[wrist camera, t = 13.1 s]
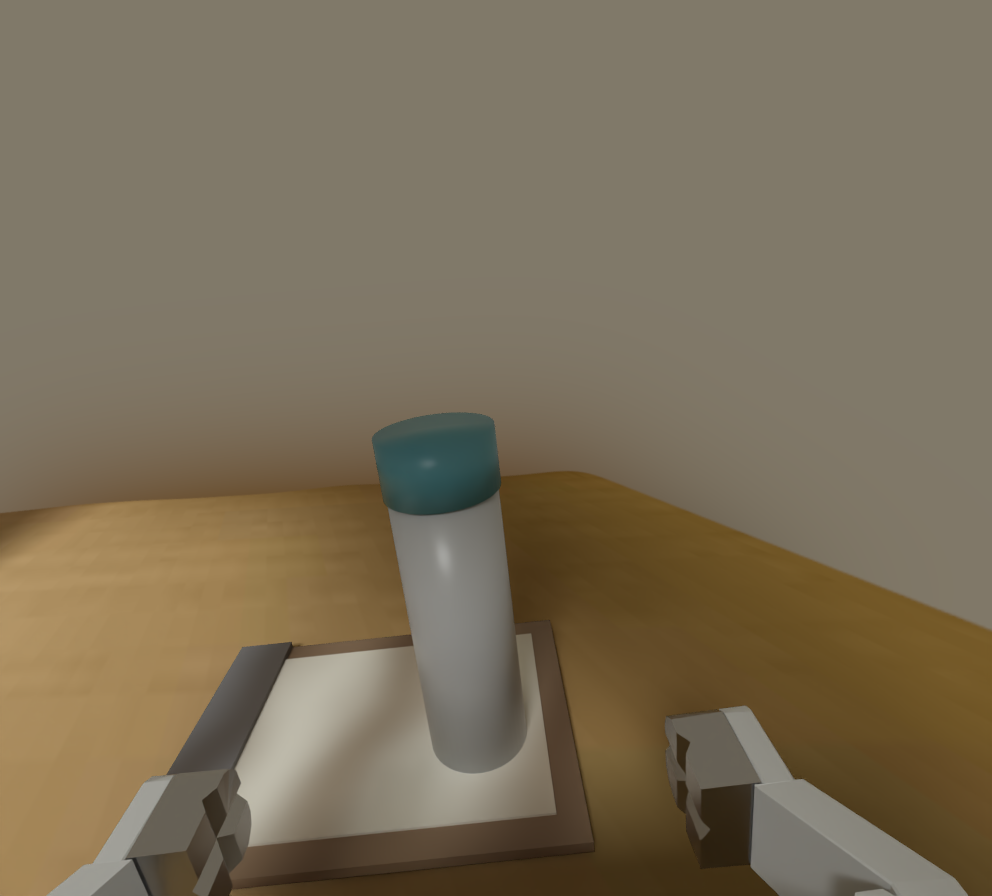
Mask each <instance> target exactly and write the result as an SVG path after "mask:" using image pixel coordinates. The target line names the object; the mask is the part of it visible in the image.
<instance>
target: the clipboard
mask: <svg viewBox="0 0 992 896" xmlns="http://www.w3.org/2000/svg"><path fill="white" fill-rule="evenodd" d="M515 632H516V641H517V650H518V658H519V667H520V675H521V684H522V692H523V701H524V709H525V718H526V727H527V733H526V739H525V742H524V744H523V746H522V748H521V750H520V751H519V752H518V754H517V755H516V756H515V757H514V758H513V759H512V760H511V761H509V762H508V763H506V764H505V765H503V766H501V767H499V768H497V769H495V770H492V771H489V772H484V773H476V774H469V773H462V772H458V771H455V770H452V769H450V768H448V767H447V766H445V765H444V764H443V763H442V762H440V761H439V759H438V758H437V757H436V755H435V753H434V750H433V747H432V742H431V737H430V731H429V726H428V720H427V715H426V710H425V704H424V699H423V694H422V688H421V683H420V677H419V672H418V667H417V661H416V656H415V651H414V645H413V640H412V635H403V636H393V637H384V638H374V639H365V640H356V641H346V642H337V643H327V644H318V645H308V646H299V647H293V646H292V642H287V643H278V644H268V645H259V646H250V647H242V649H241V650H240V652H239V654H238V655H237V657H236V659H235V660H234V662H233V664H232V666H231V667H230V669H229V671H228V672H227V674H226V676H225V677H224V679H223V681H222V682H221V684H220V686H219V687H218V689H217V691H216V692H215V694H214V696H213V697H212V699H211V701H210V703H209V704H208V706H207V708H206V709H205V711H204V713H203V714H202V716H201V718H200V719H199V721H198V723H197V724H196V726H195V728H194V729H193V731H192V733H191V734H190V736H189V738H188V740H187V741H186V743H185V745H184V746H183V748H182V750H181V751H180V753H179V755H178V756H177V758H176V760H175V761H174V763H173V765H172V766H171V768H170V770H169V771H168V773H167V775H173V774H179V773H189V772H200V771H211V770H222V769H234V770H236V771H237V774H238V776H239V779H240V781H241V785H240V787H239V789H238V791H237V794H238V795H240V796H241V797H243V798H244V799H245V800H247V801H248V805H249V808H250V811H251V822H252V825H251V832H250V839H249V844H248V847H247V850H246V852H245V855H244V858H243V860H242V861H241V862H240V863H239V864H238V865H237V866H236V867H235V868H234V869H233V870H232V871H231V872H230V873H229V874H230V877H231V881H232V884H233V887H232V889H239V888H248V887H258V886H268V885H277V884H287V883H296V882H306V881H316V880H325V879H335V878H344V877H354V876H364V875H373V874H383V873H392V872H402V871H411V870H421V869H431V868H440V867H450V866H459V865H469V864H479V863H488V862H498V861H507V860H517V859H527V858H536V857H546V856H555V855H565V854H575V853H584V852H594V841H593V836H592V831H591V826H590V821H589V816H588V810H587V805H586V800H585V795H584V790H583V785H582V780H581V775H580V770H579V765H578V760H577V755H576V750H575V745H574V739H573V734H572V729H571V724H570V719H569V714H568V709H567V704H566V699H565V694H564V689H563V684H562V679H561V674H560V669H559V663H558V658H557V653H556V648H555V643H554V638H553V633H552V628H551V623H550V620H544V621H535V622H525V623H516V624H515Z"/></svg>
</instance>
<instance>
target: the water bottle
mask: <svg viewBox="0 0 992 896" xmlns="http://www.w3.org/2000/svg"><path fill="white" fill-rule="evenodd" d="M372 443H373V448H374V453H375V459H376V464H377V470H378V474H379V480H380V486H381V491H382V496H383V501H384V503H385V505H386V506H387V507H388V511H389V516H390V521H391V527H392V532H393V538H394V543H395V548H396V554H397V559H398V564H399V570H400V575H401V581H402V586H403V591H404V597H405V602H406V607H407V613H408V618H409V624H410V629H411V634H412V640H413V645H414V651H415V656H416V661H417V667H418V672H419V677H420V683H421V688H422V694H423V699H424V704H425V710H426V715H427V720H428V726H429V731H430V737H431V742H432V747H433V750H434V753H435V755H436V757H437V758H438V759H439V761H440V762H442V763H443V764H444V765H445V766H447V767H448V768H450V769H452V770H455V771H458V772H462V773H469V774H476V773H484V772H489V771H492V770H495V769H497V768H499V767H501V766H503V765H505V764H506V763H508V762H509V761H511V760H512V759H513V758H514V757H515V756H516V755H517V754H518V752H519V751H520V750H521V748H522V746H523V744H524V742H525V739H526V733H527V727H526V718H525V709H524V701H523V692H522V684H521V675H520V667H519V658H518V650H517V641H516V632H515V624H514V615H513V607H512V598H511V590H510V581H509V572H508V564H507V555H506V547H505V538H504V530H503V521H502V513H501V504H500V495H499V488H500V486H501V477H500V468H499V460H498V451H497V444H496V434H495V425H494V421H493V419H491V418H490V417H488V416H485V415H482V414H476V413H442V414H433V415H426V416H421V417H416V418H412V419H407V420H404V421H400V422H397V423H395V424H392V425H389V426H387V427H385V428H383V429H381V430H379V431H378V432H377V433H375V434H374V436H373V437H372Z"/></svg>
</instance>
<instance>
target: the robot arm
mask: <svg viewBox="0 0 992 896" xmlns="http://www.w3.org/2000/svg"><path fill="white" fill-rule="evenodd" d="M665 733H666V736H667V738H668V741H669V743H670V746H669V747H668V748H667V750H666V766H667V772H668V778H669V783H670V786H671V790H672V793H673V796H674V799H675V802H676V804H677V807H678V808H679V809H680V810H681V811H683V812H684V813H685V814H686V832H687V834H688V837H689V839H690V842H691V845H692V847H693V850H694V853H695V855H696V858H697V860H698V863H699V866H700V868H701V869H706V868H717V867H728V866H740V865H751V868H752V869H753V870H754V871H755V872H756V873H757V874H758V875H759V876H760V877H761V878H762V879H763V880H764V881H765V882H766V883H767V884H768V885H769V886H770V887H771V888H772V889H773V890H774V891H775V892H776V893H777V894H778V895H779V896H968V895H967V893H966V892H965V891H964V890H963V888H962V887H961V886H960V884H959V883H958V882H957V880H956V879H955V878H954V877H952V876H951V875H949V874H948V873H946V872H944V871H943V870H941V869H940V868H938V867H937V866H935V865H934V864H932V863H931V862H929V861H928V860H926V859H925V858H923V857H922V856H920V855H918V854H917V853H915V852H914V851H912V850H911V849H909V848H908V847H906V846H905V845H903V844H902V843H900V842H899V841H897V840H896V839H894V838H893V837H891V836H889V835H888V834H886V833H885V832H883V831H882V830H880V829H879V828H877V827H876V826H874V825H873V824H871V823H870V822H868V821H867V820H865V819H863V818H862V817H860V816H859V815H857V814H856V813H854V812H853V811H851V810H850V809H848V808H847V807H845V806H844V805H842V804H841V803H839V802H837V801H836V800H834V799H833V798H831V797H830V796H828V795H827V794H825V793H824V792H822V791H821V790H819V789H818V788H816V787H815V786H813V785H811V784H810V783H808V782H807V781H805V780H804V779H797V780H794V778H793V776H792V775H791V773H790V772H789V770H788V768H787V767H786V765H785V764H784V762H783V760H782V759H781V757H780V756H779V754H778V752H777V751H776V749H775V747H774V746H773V744H772V743H771V741H770V739H769V738H768V736H767V735H766V733H765V731H764V730H763V728H762V727H761V725H760V723H759V722H758V720H757V719H756V717H755V715H754V714H753V712H752V711H751V709H750V708H748V707H747V706H739V707H731V708H724V709H719V710H717V709H716V710H708V711H700V712H693V713H685V714H677V715H670V716H666V720H665ZM240 785H241V781H240V779H239V776H238V774H237V771H236V770H234V769H222V770H211V771H200V772H189V773H179V774H173V775H163V776H152V777H151V778H150V779H148V780H147V781H146V782H144V783H143V785H142V786H141V788H140V789H139V791H138V793H137V794H136V796H135V797H134V799H133V801H132V802H131V804H130V805H129V807H128V808H127V810H126V812H125V813H124V815H123V816H122V818H121V820H120V821H119V823H118V824H117V826H116V827H115V829H114V831H113V832H112V834H111V835H110V837H109V838H108V840H107V842H106V843H105V845H104V846H103V848H102V850H101V851H100V853H99V854H98V856H97V857H96V859H95V861H94V862H93V864H88V865H83V866H82V867H81V868H80V869H78V870H77V871H76V872H75V873H74V874H72V875H71V876H70V877H69V878H67V879H66V880H65V881H64V882H62V883H61V884H60V885H59V886H58V887H56V888H55V889H54V890H53V891H51V892H50V893H49V894H48V895H47V896H229V894H230V892H231V889H232V887H233V884H232V881H231V877H230V874H229V873H230V872H231V871H232V870H233V869H234V868H235V867H236V866H237V865H238V864H239V863H240V862H241V861H242V860H243V858H244V855H245V852H246V850H247V847H248V844H249V839H250V832H251V825H252V822H251V811H250V808H249V805H248V801H247V800H245V799H244V798H243V797H241V796H240V795H238V794H237V791H238V789H239V787H240Z"/></svg>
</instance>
